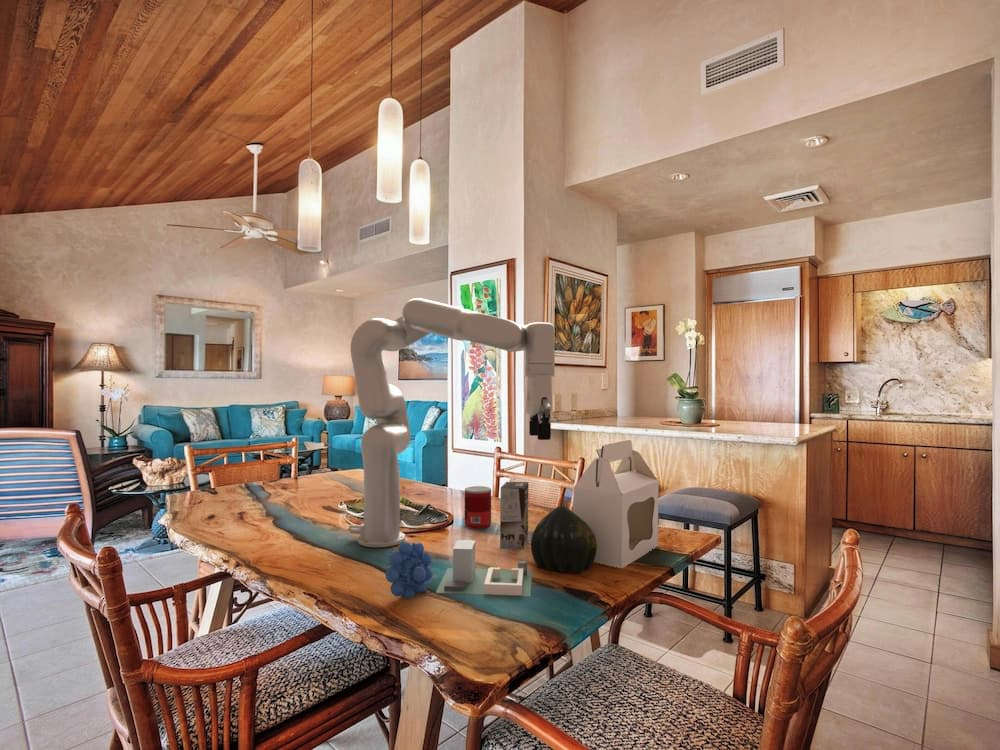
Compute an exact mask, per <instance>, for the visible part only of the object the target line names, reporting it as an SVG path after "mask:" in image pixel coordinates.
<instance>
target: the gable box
mask: <svg viewBox="0 0 1000 750" xmlns="http://www.w3.org/2000/svg"><path fill="white" fill-rule="evenodd" d="M595 451H596V454H597V455H598V457H596V458H594V459H593V460H592V461H591V462H590V464H589V465H588V467H587V468H586V470H585V471H584V472H583V474H582V475H581V477H580V478H579V479H578V481H577V482H576V484H575V485H574V486H573V490H572V491H573V495H572V496H573V497H572V499H573V501H572V502H573V504H572V505H573V507H572V508H573V511H572V512H573V513H575V514H576V515H577V516H578V517H580V518H581V519H582V520H583V521H584V522H585V523H586V524H587V525H588V526H589V527H590V528H591V529H592V531H593V533H594V535H595V538H596V543H597V550H596V556H595V559H594V562H593V563H595V562H596V563H597V564H599V563H600V565H603V564H604V565H603V566H609V567H612V566H613V567H612V568H616V567H617V569H620V568H622V569H623V568H626V567H627V566H629V565H630V564H632V563H633V562H635V561H637V560H639V559H640V558H642V557H643V556H645V555H646V554H648V553H649V551H650V552H651V551H653V550H655V549H656V548H658V547H659V480H658V479H657V477H656V476H655V475H654V473H653V472H652V470H651V468H650V467H649V466H648V464H647V463H646V461H645V459H643V457H642V455H641V453H640V452H638V451H636V450H634V449H633V441H632V440H631V439H626V440H623V441H617V442H612V443H607V444H603V445H602V446H601V448H598V449H595ZM620 460H621V461H620ZM616 461H620V463H619V464H618V466H617V468H616V470H615V473H614V472H613V470H612V469H613V468H612V467H611V465H610V463H612V462H616ZM636 541H637V542H636ZM657 546H658V547H657ZM652 549H653V550H652ZM628 564H629V565H628Z"/></svg>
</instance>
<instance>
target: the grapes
mask: <svg viewBox="0 0 1000 750" xmlns="http://www.w3.org/2000/svg"><path fill="white" fill-rule="evenodd" d="M424 547H425V546H424V545H423V543H421V542H420V541H415V542H413V543H410V542H409V541H404V542H402V543H400V544H399V546H398V551H397V550H395V551H392V552H391V553H390V554H389V555H388V563H389V564H390V565H391V567H389V568H387V569H386V571H385V579H386V580H387V581H388V582H389V583H390V584H391V585H390V591H391V594H392V595H393V596H395V597H402V598H403V599H410V598H414V597H415V596H416V594H421V593H425V592H426V590H427V584H426V582H427V583H428V582H430V581H431V580H432V579H433V570H432V569H431V568H430V566H431V564H432V561H433V560H432V559H433V558H432V554H430V553H429V552H427V551H425V548H424Z"/></svg>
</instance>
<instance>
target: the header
mask: <svg viewBox="0 0 1000 750" xmlns="http://www.w3.org/2000/svg"><path fill="white" fill-rule="evenodd" d="M501 568H502V567H496V566H495V567H489V566H488V572H487V576H486V579H485V583H484V594H495V595H494V596H502V595H522V587H523V568H518V567H512V568H511V569H510V570H511V579H517V583H495V582H492V580H493V578H497V579H500V577H501V570H502V569H501Z"/></svg>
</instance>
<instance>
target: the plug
mask: <svg viewBox="0 0 1000 750" xmlns="http://www.w3.org/2000/svg"><path fill="white" fill-rule="evenodd" d="M452 568H453V581H466V582H471V583H472V580H473V577H474V574H475V569H476V540H467V539H466V540H465V539H464V540H463V539H457V541H456V542H455V544H454V545H453V548H452Z"/></svg>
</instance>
